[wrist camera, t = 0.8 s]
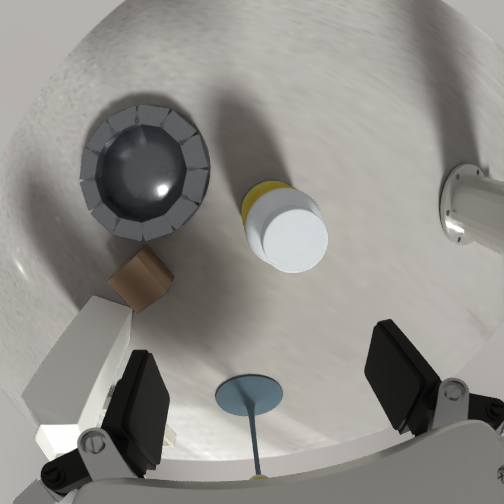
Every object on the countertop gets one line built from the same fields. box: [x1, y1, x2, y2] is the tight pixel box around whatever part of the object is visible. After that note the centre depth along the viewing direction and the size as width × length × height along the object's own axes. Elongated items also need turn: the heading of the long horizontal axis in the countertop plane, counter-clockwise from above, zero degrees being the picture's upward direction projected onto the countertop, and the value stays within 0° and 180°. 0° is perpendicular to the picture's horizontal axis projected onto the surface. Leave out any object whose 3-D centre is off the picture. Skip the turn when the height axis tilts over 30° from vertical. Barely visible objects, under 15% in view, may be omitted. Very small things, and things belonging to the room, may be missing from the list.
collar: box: [80, 105, 210, 241], centre depth 26 cm, size 15×15×2 cm
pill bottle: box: [241, 180, 328, 273], centre depth 24 cm, size 6×6×12 cm
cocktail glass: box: [216, 375, 283, 480], centre depth 27 cm, size 18×18×25 cm
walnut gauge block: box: [107, 244, 174, 314], centre depth 29 cm, size 5×5×4 cm
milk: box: [21, 295, 132, 461], centre depth 22 cm, size 6×6×22 cm
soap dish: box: [100, 397, 176, 447], centre depth 39 cm, size 9×13×3 cm
